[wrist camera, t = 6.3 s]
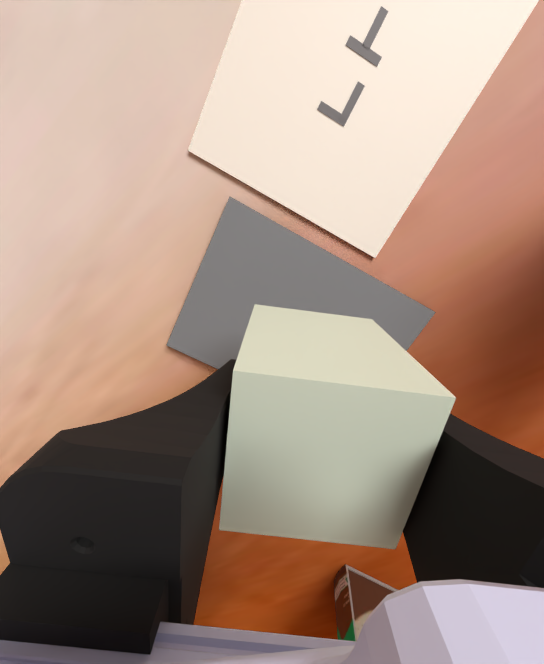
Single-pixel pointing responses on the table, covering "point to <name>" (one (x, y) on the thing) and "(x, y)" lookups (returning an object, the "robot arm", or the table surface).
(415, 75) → the card
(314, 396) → the sage block
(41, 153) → the table surface
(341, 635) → the food container
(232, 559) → the table surface
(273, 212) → the table surface
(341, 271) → the slate mat
